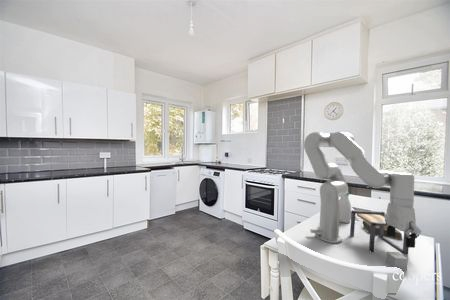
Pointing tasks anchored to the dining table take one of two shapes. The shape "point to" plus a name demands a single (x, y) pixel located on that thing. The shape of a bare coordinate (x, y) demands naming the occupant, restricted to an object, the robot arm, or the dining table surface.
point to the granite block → (396, 260)
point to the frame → (372, 231)
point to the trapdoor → (372, 218)
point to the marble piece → (397, 233)
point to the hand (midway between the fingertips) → (400, 241)
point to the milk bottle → (345, 209)
